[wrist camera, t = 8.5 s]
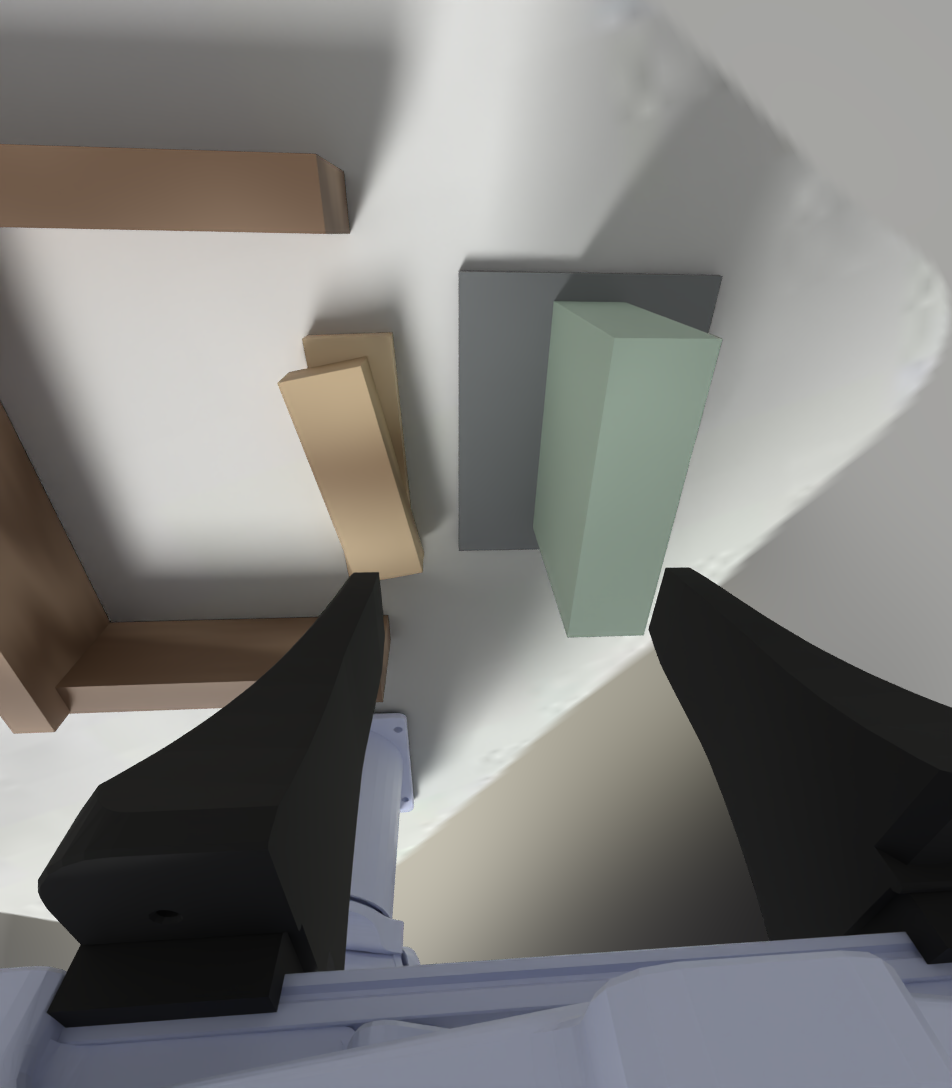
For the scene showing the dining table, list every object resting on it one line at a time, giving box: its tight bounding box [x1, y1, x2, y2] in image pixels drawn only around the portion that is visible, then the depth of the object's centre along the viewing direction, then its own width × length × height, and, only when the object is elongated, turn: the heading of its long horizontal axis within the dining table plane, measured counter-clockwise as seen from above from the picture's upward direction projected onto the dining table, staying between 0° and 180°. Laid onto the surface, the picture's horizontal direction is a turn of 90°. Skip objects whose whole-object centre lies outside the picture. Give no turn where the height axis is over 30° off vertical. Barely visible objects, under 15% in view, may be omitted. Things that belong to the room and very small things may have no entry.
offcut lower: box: [302, 332, 411, 577], centre depth 20 cm, size 10×3×2 cm, turn 1°
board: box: [533, 301, 722, 637], centre depth 16 cm, size 9×2×7 cm, turn 179°
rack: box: [0, 144, 391, 734], centre depth 18 cm, size 19×15×5 cm
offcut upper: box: [278, 356, 424, 580], centre depth 19 cm, size 8×3×2 cm, turn 10°
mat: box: [459, 271, 722, 551], centre depth 20 cm, size 11×9×1 cm
